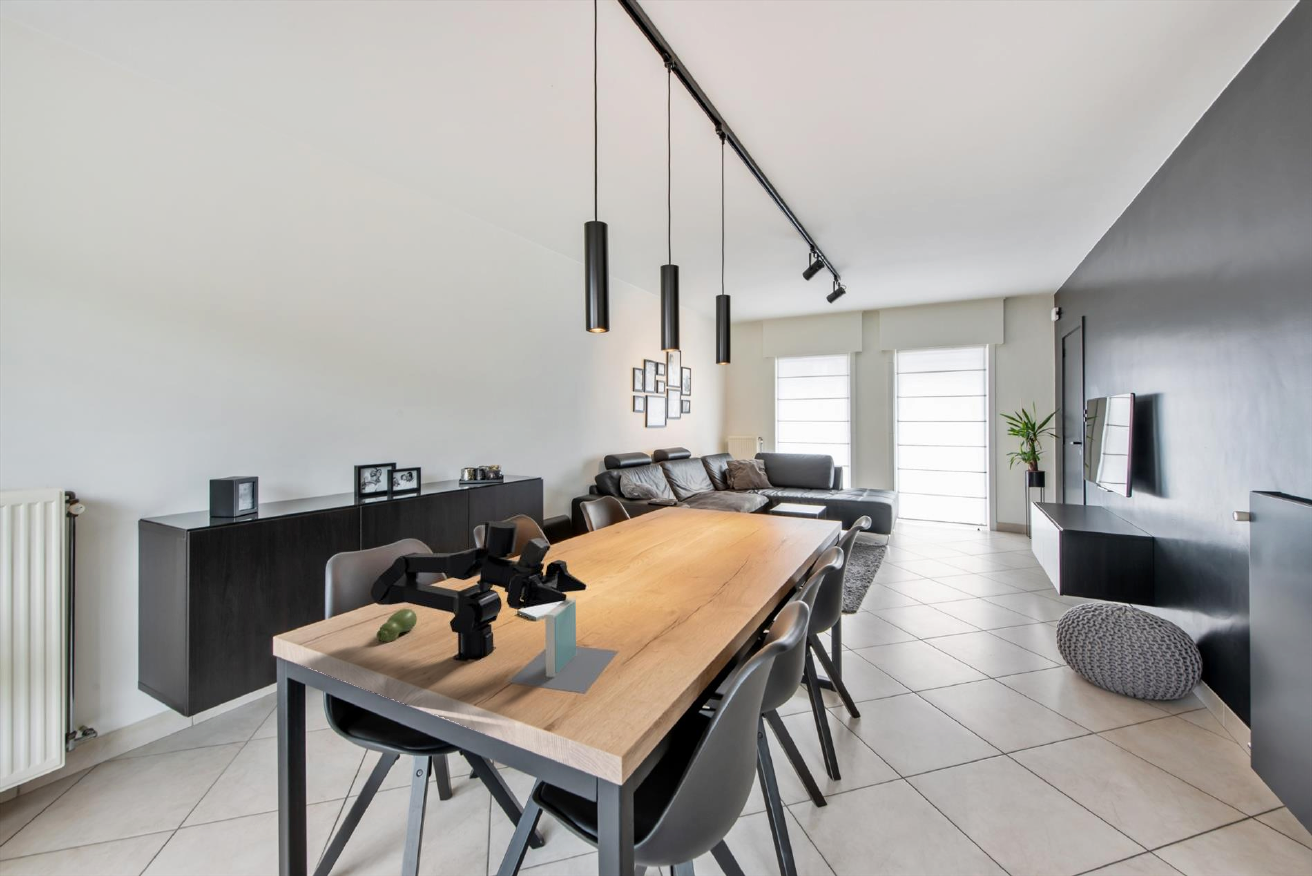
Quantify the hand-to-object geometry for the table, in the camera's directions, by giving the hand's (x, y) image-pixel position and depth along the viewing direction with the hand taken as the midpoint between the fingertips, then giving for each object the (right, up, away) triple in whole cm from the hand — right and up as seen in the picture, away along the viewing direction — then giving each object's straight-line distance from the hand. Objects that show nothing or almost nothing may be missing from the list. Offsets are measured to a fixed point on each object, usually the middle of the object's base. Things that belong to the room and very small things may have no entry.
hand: (576, 592), depth 100 cm
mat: (-2, -16, +1) cm, 16 cm away
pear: (-46, -16, +19) cm, 52 cm away
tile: (-3, -15, +1) cm, 15 cm away
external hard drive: (-14, -16, +34) cm, 40 cm away
